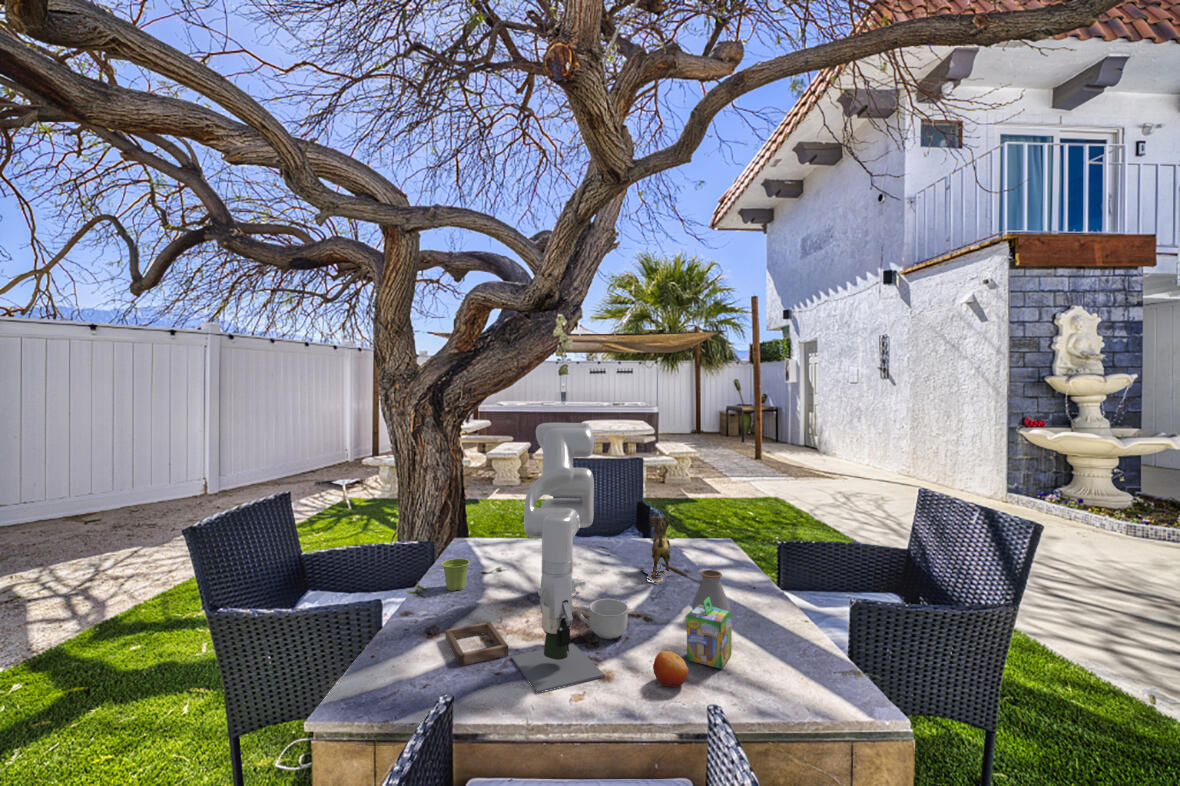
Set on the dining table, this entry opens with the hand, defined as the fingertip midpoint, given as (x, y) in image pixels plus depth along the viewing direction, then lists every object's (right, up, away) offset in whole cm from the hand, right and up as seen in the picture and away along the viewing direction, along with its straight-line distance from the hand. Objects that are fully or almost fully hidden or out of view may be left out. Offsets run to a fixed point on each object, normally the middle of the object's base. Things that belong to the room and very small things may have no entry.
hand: (556, 638), depth 137 cm
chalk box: (+39, -8, +5) cm, 40 cm away
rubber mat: (0, -7, 0) cm, 7 cm away
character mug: (0, -5, 0) cm, 5 cm away
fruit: (+27, -8, -7) cm, 29 cm away
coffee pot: (+40, -7, +33) cm, 52 cm away
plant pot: (-38, -7, +54) cm, 66 cm away
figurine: (+33, -7, +70) cm, 78 cm away
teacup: (+12, -7, +19) cm, 24 cm away
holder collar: (-22, -7, +11) cm, 25 cm away
